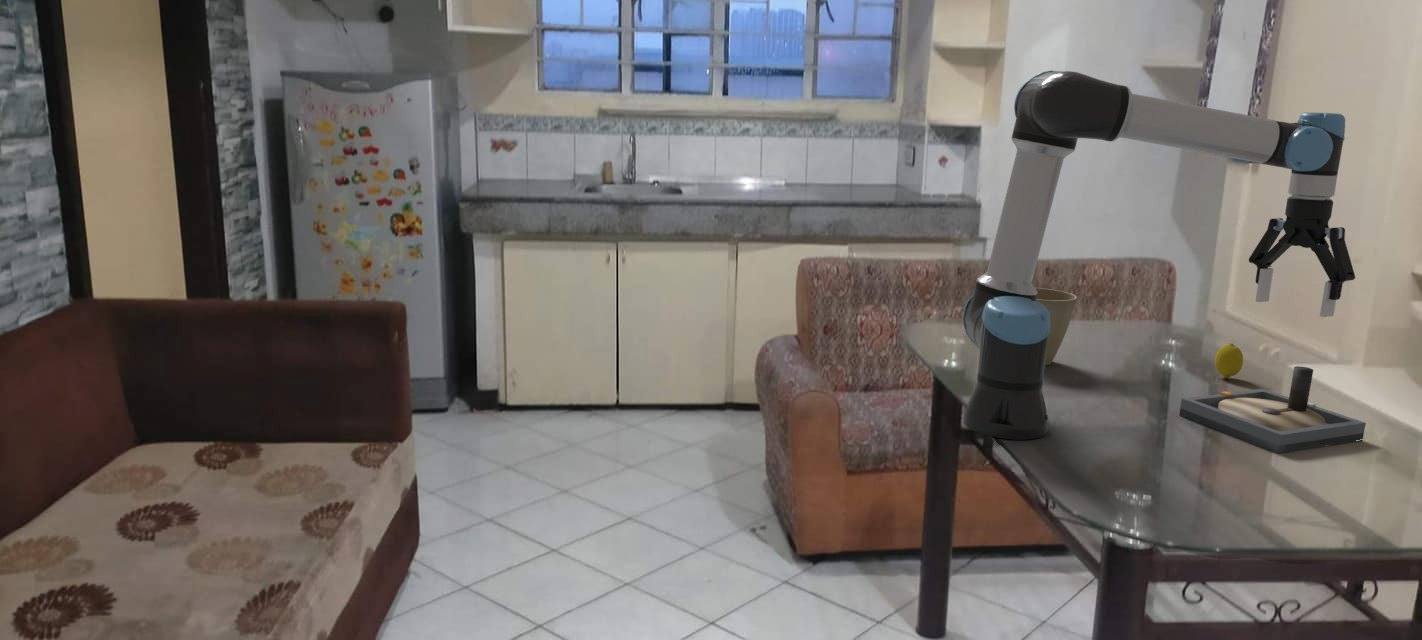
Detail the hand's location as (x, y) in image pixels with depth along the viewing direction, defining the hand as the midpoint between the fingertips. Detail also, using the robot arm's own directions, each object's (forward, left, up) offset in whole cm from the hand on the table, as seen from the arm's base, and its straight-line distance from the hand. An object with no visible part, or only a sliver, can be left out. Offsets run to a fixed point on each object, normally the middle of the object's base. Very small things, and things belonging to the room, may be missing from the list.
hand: (1293, 308), depth 199 cm
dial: (-7, -4, -20) cm, 22 cm away
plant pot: (-19, +48, -22) cm, 56 cm away
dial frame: (-7, -4, -22) cm, 23 cm away
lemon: (+14, +24, -22) cm, 36 cm away
